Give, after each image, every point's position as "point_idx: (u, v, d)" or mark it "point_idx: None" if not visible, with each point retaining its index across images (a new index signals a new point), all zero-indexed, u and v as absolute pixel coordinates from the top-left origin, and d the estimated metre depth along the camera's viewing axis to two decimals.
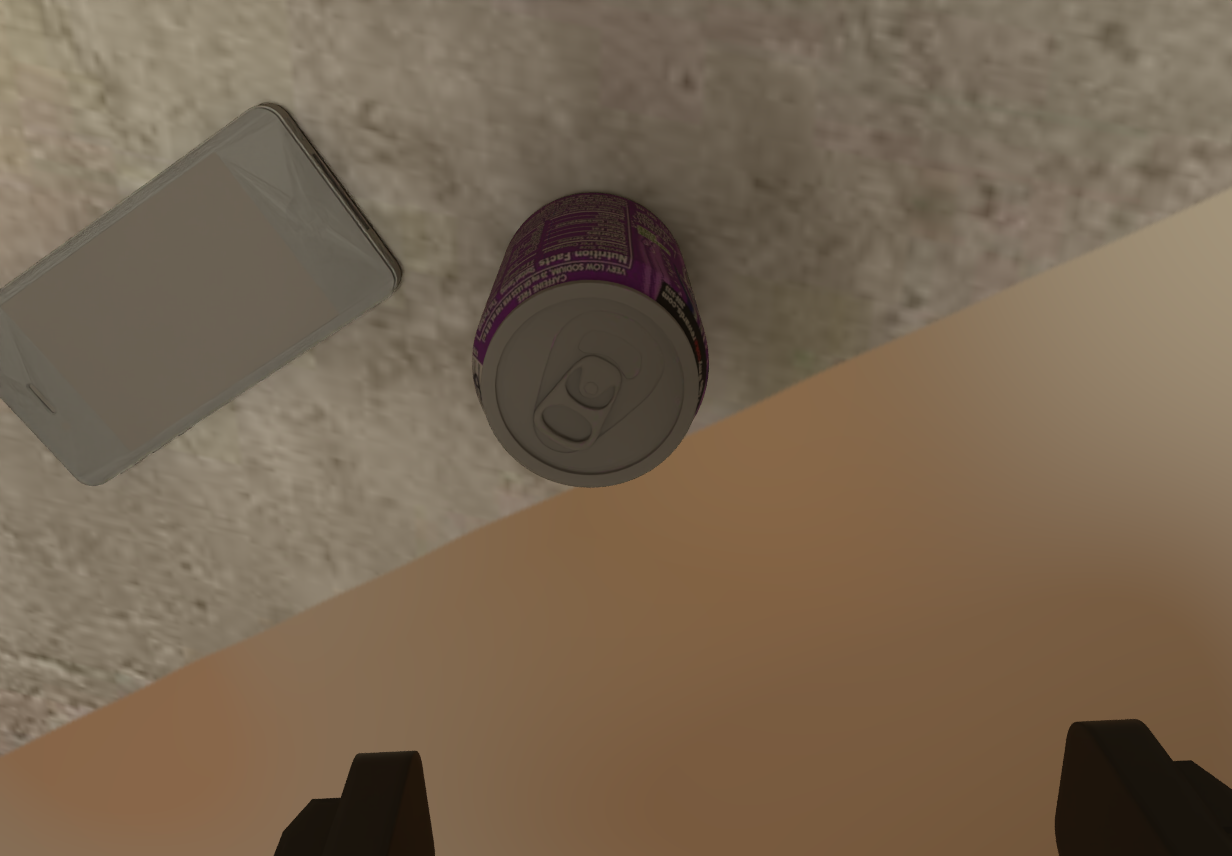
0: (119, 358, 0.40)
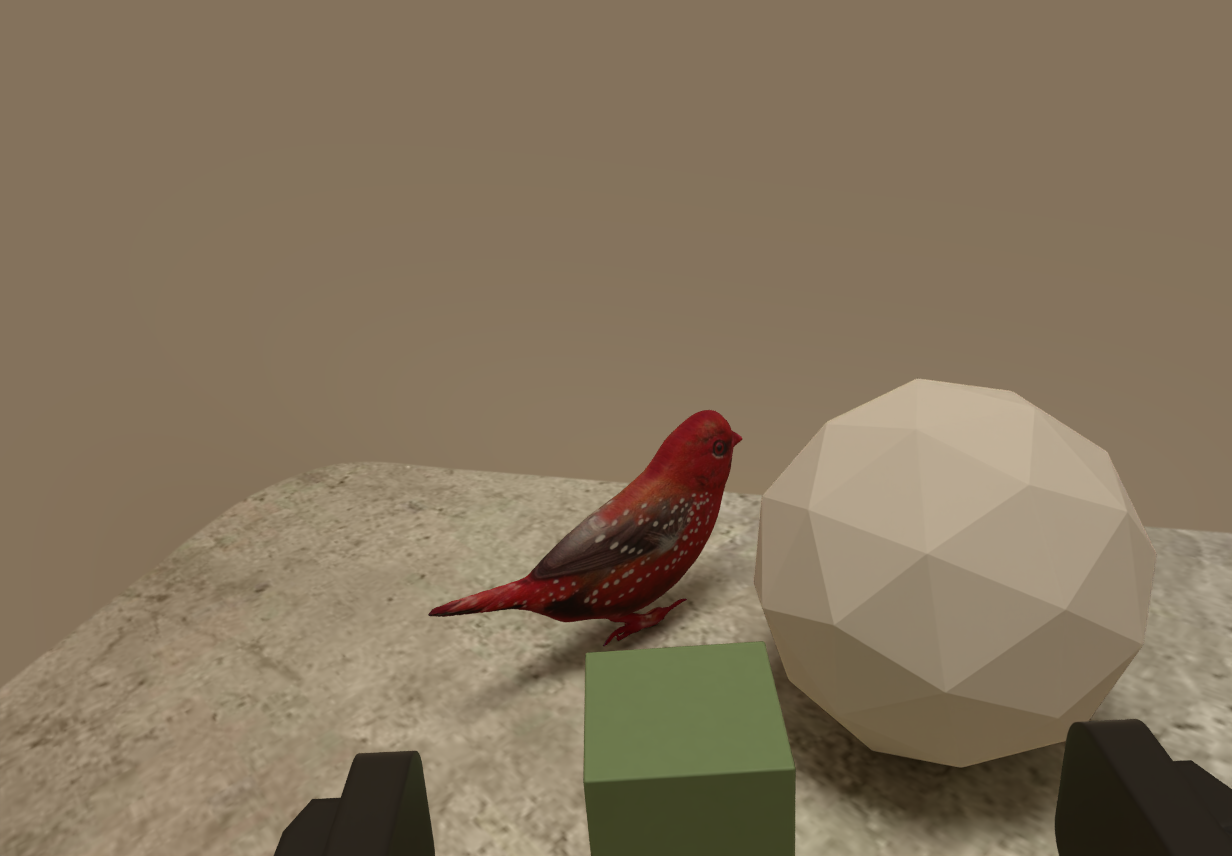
0: None
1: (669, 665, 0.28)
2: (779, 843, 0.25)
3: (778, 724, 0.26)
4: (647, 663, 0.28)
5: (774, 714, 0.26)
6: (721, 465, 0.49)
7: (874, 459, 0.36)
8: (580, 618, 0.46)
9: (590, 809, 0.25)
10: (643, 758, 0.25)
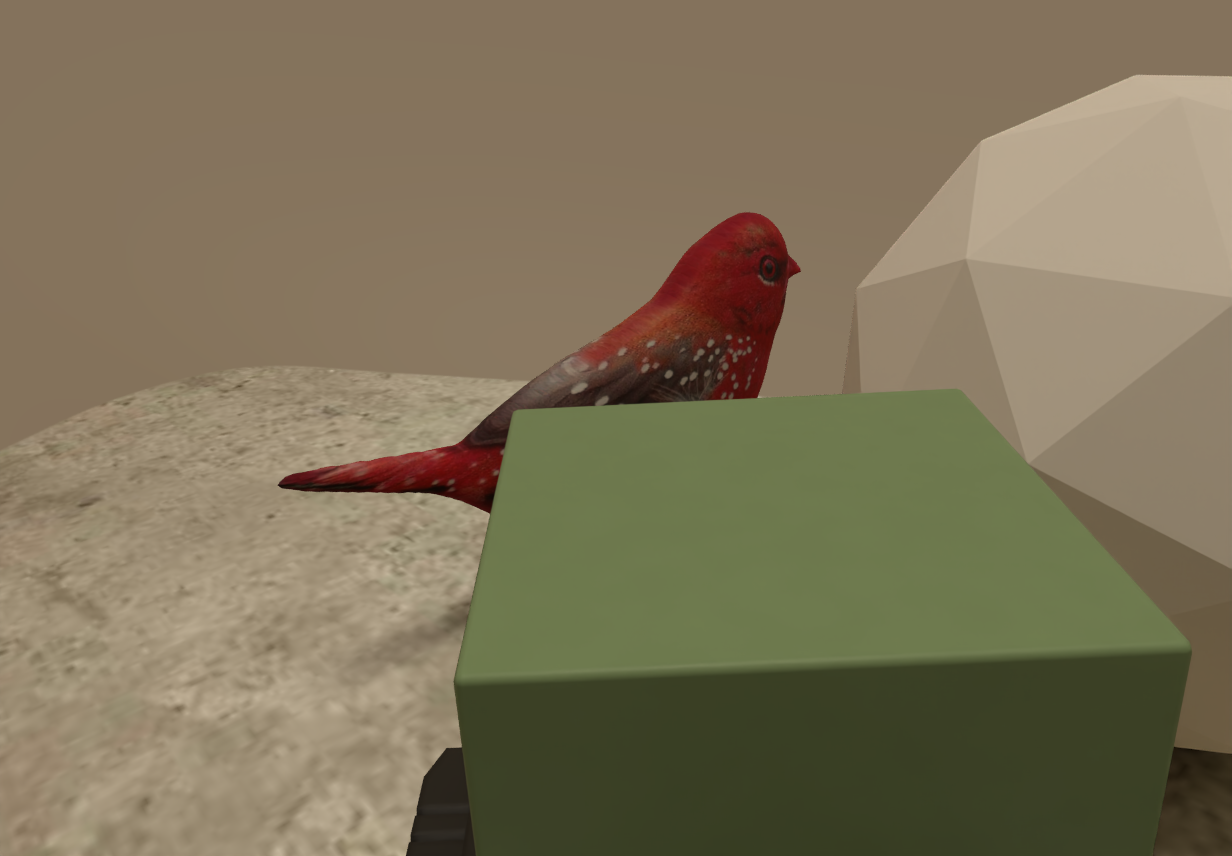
0: None
1: (726, 427, 0.11)
2: None
3: (1078, 537, 0.08)
4: (668, 424, 0.11)
5: (1054, 513, 0.09)
6: (771, 297, 0.31)
7: (1097, 157, 0.19)
8: None
9: (479, 780, 0.07)
10: (662, 614, 0.08)
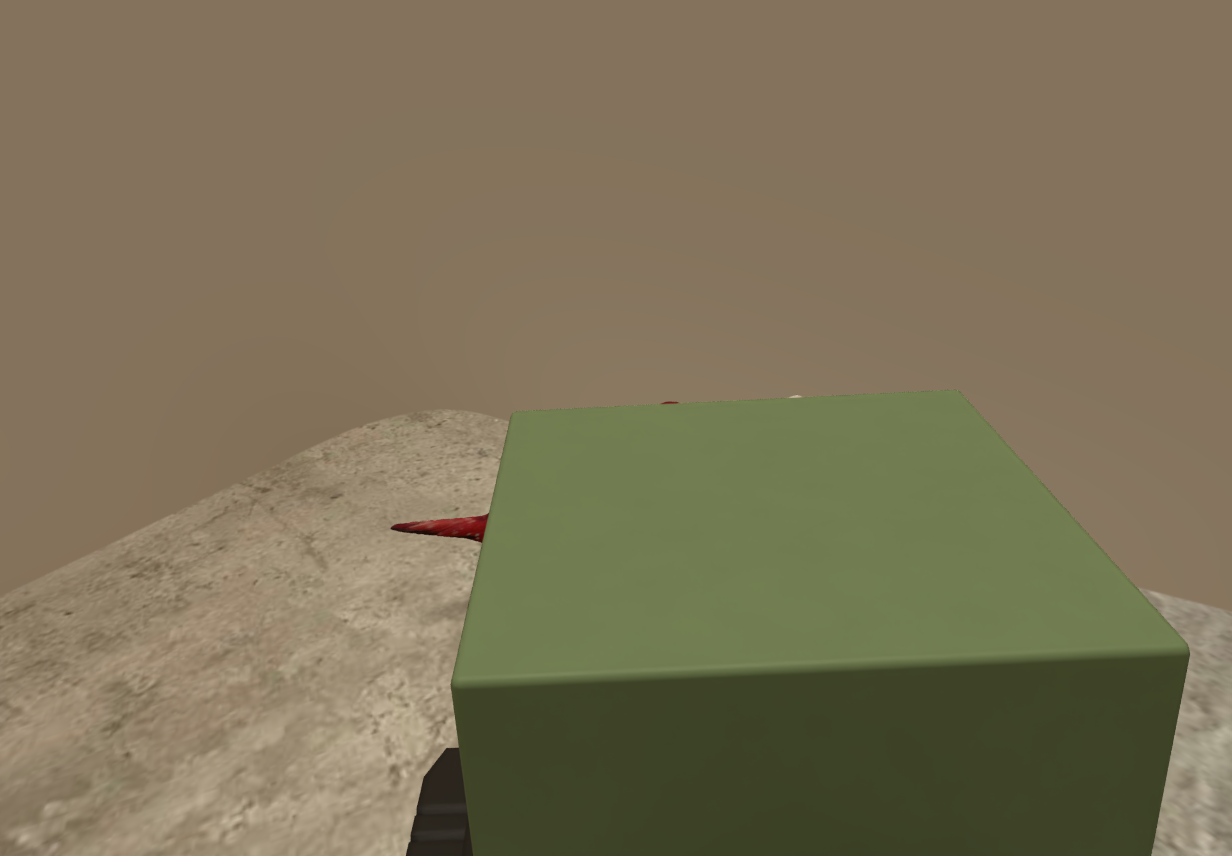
0: None
1: (725, 428, 0.11)
2: None
3: (1076, 537, 0.08)
4: (666, 425, 0.11)
5: (1052, 515, 0.09)
6: None
7: None
8: None
9: (476, 783, 0.07)
10: (659, 618, 0.08)
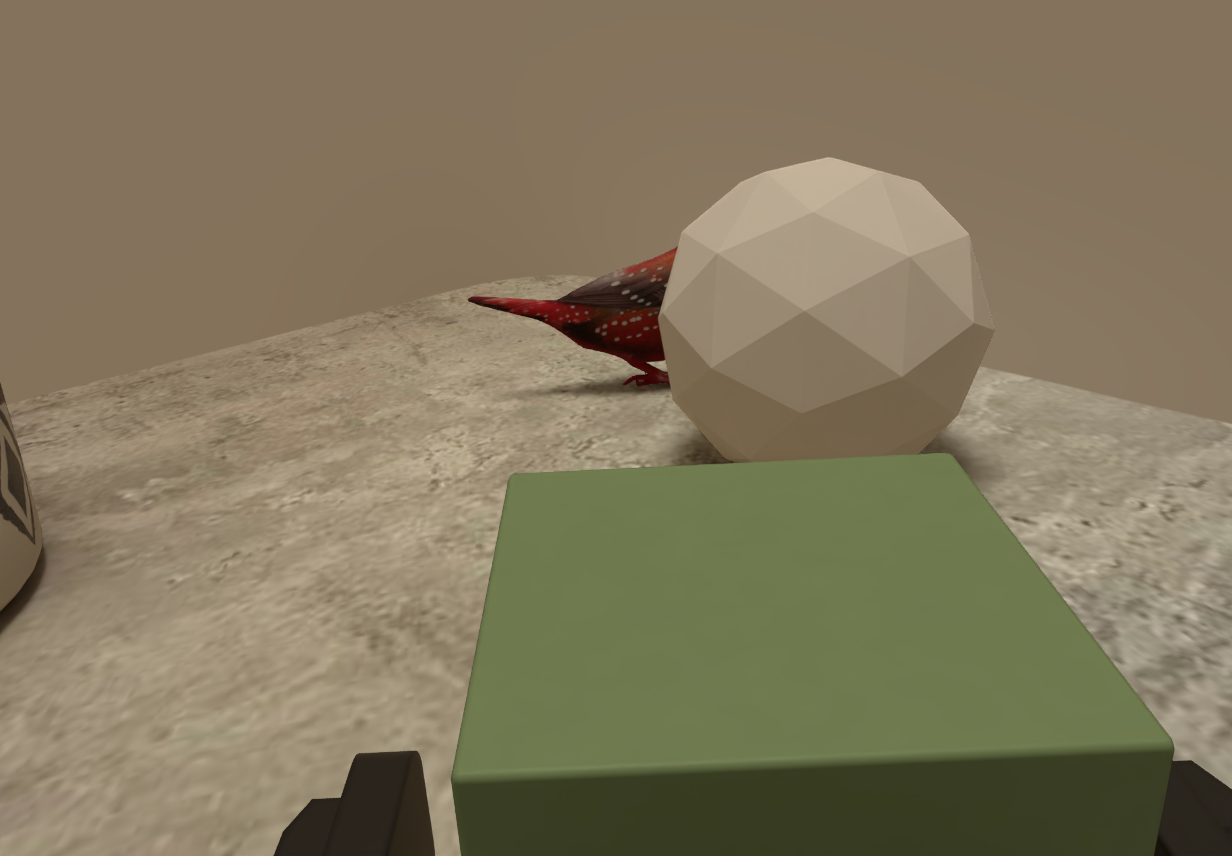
0: None
1: (720, 495, 0.11)
2: None
3: (1064, 621, 0.09)
4: (663, 491, 0.11)
5: (1041, 595, 0.09)
6: None
7: (733, 194, 0.45)
8: (594, 346, 0.59)
9: None
10: (655, 707, 0.08)
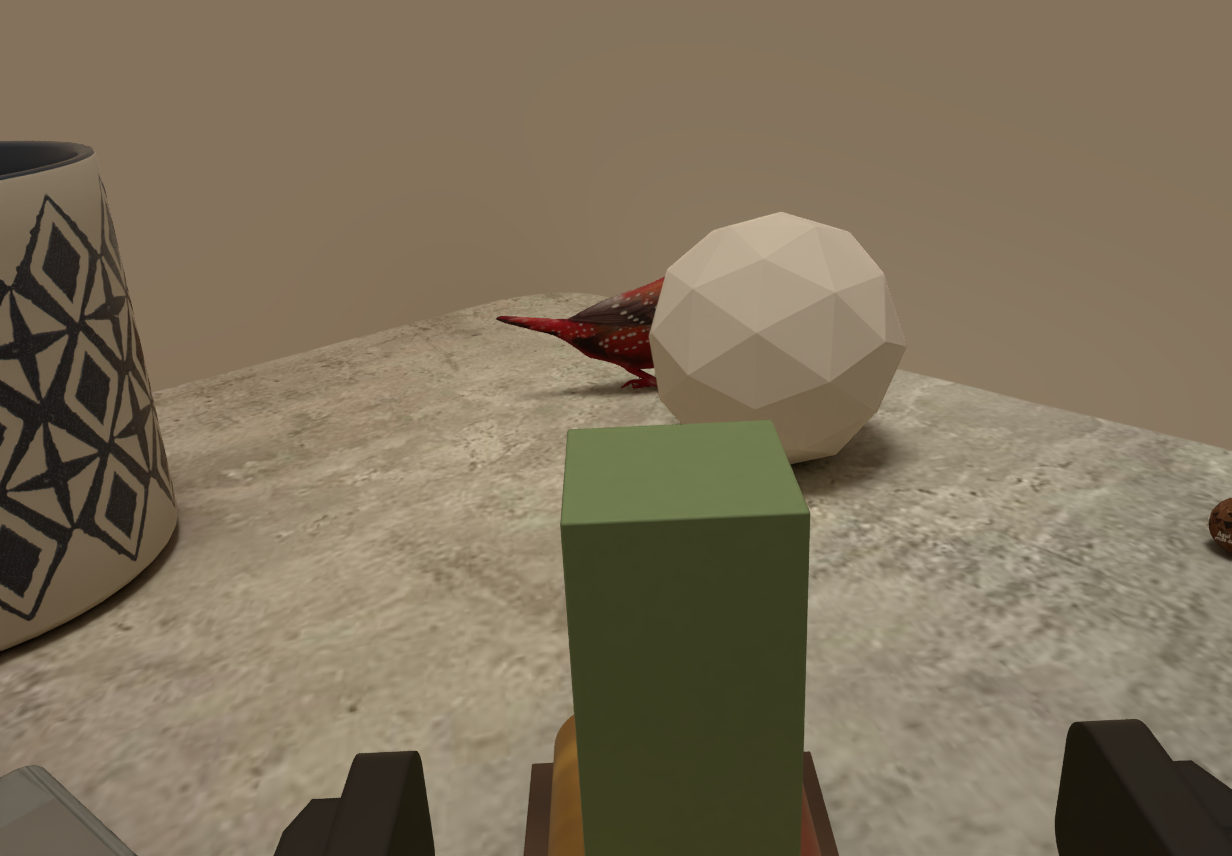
0: None
1: (663, 437, 0.25)
2: (789, 613, 0.22)
3: (789, 479, 0.22)
4: (638, 436, 0.25)
5: (784, 471, 0.22)
6: None
7: (706, 242, 0.58)
8: (598, 356, 0.72)
9: (568, 561, 0.21)
10: (632, 505, 0.21)
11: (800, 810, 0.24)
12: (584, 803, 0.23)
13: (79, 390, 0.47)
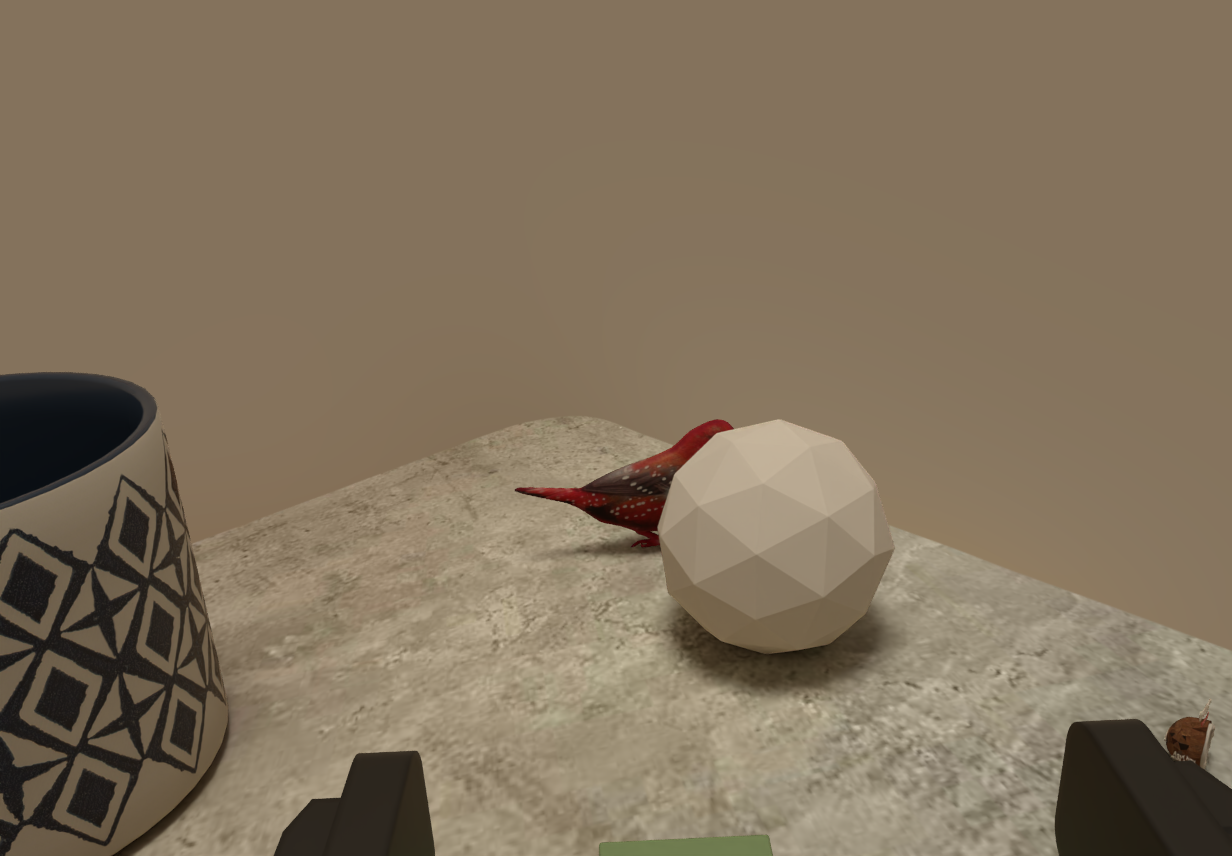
0: None
1: None
2: None
3: None
4: None
5: None
6: None
7: (710, 454, 0.64)
8: (609, 522, 0.78)
9: None
10: None
11: None
12: None
13: (148, 637, 0.52)
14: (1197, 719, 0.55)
